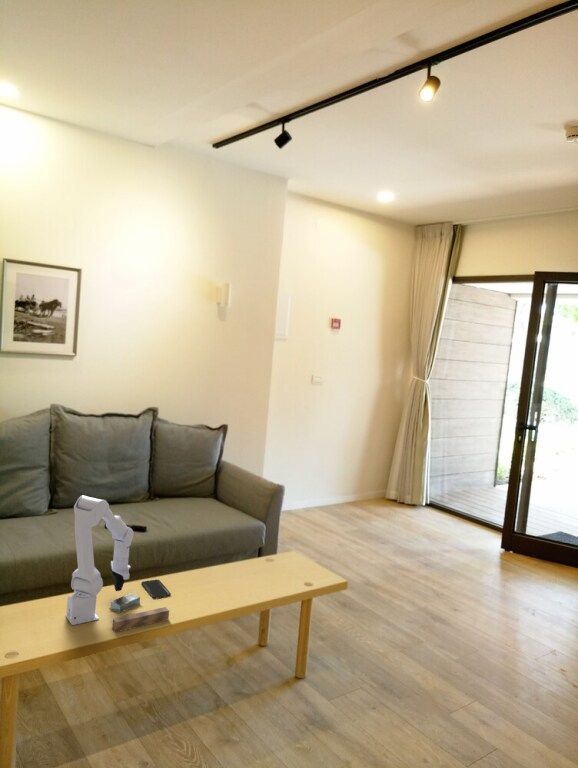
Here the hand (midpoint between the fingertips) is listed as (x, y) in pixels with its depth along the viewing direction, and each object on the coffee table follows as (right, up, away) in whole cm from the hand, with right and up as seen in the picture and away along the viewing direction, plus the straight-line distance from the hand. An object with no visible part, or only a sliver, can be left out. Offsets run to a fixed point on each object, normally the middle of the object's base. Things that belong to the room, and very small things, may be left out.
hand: (118, 590), depth 217 cm
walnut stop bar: (+14, -5, -18) cm, 23 cm away
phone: (+12, -4, +10) cm, 16 cm away
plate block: (+4, -4, -6) cm, 9 cm away
